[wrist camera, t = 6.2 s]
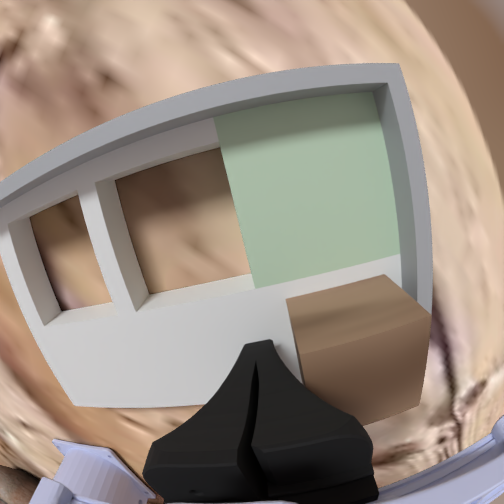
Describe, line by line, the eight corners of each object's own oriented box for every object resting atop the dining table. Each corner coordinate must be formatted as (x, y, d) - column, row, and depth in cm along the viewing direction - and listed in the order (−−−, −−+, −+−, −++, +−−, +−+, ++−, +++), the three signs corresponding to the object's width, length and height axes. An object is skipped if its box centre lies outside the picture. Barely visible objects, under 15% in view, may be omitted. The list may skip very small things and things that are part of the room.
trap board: (398, 336, 15) (424, 371, 12) (86, 388, 16) (65, 420, 13) (366, 85, 11) (398, 63, 8) (8, 196, 12) (-31, 205, 9)
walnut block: (385, 354, 13) (418, 405, 9) (301, 377, 13) (314, 438, 9) (384, 273, 12) (431, 314, 8) (285, 298, 12) (299, 354, 8)
